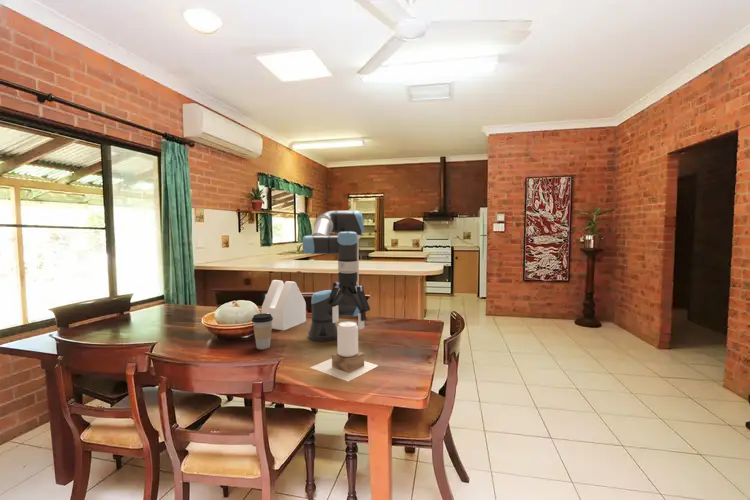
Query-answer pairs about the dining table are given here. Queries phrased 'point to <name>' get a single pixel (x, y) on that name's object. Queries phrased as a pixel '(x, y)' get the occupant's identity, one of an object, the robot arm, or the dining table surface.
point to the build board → (328, 369)
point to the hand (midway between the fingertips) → (348, 325)
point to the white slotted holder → (284, 305)
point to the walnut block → (348, 362)
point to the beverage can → (347, 339)
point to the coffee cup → (262, 330)
